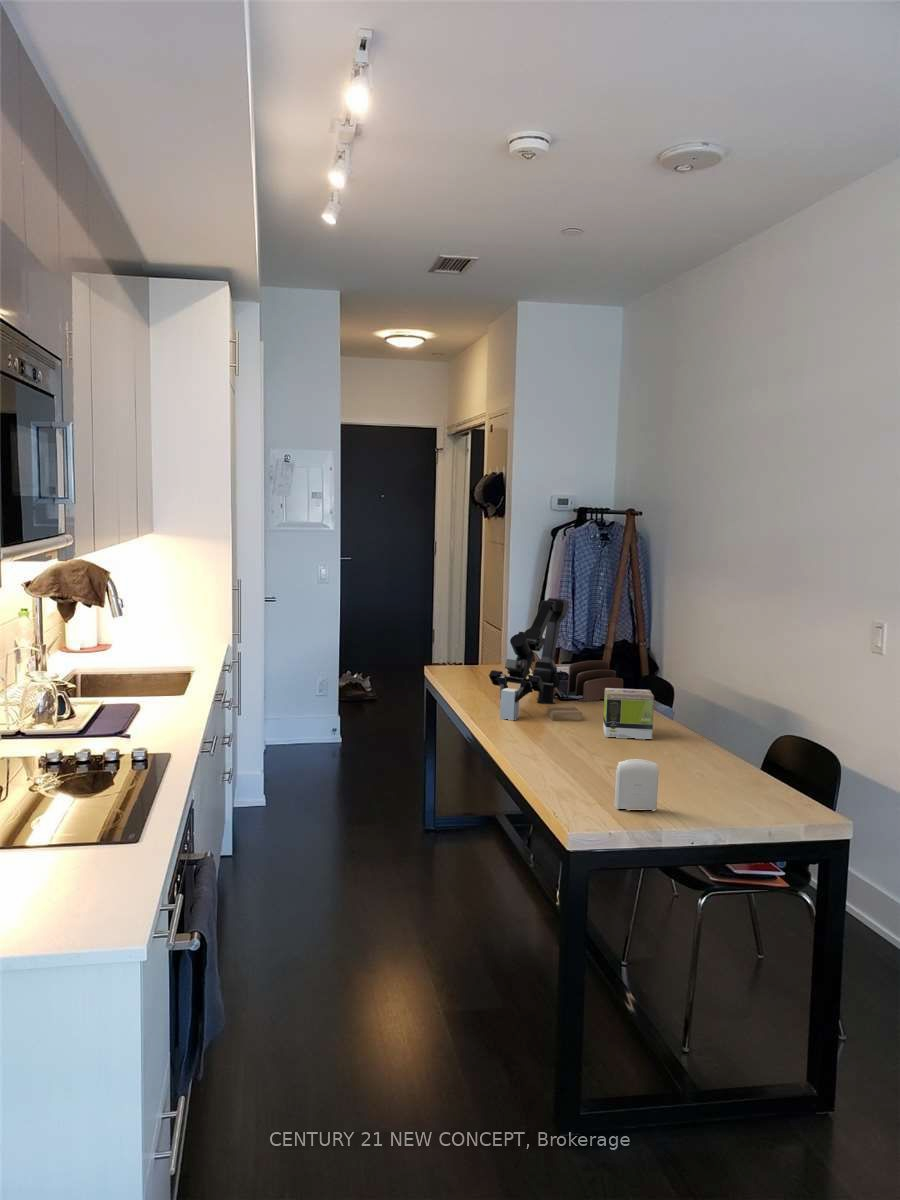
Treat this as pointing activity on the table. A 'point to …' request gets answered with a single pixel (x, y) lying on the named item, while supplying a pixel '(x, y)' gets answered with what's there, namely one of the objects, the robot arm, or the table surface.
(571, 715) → the block
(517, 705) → the tin
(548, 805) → the table surface
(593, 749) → the table surface
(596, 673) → the letter holder
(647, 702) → the tea box
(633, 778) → the photo printer
